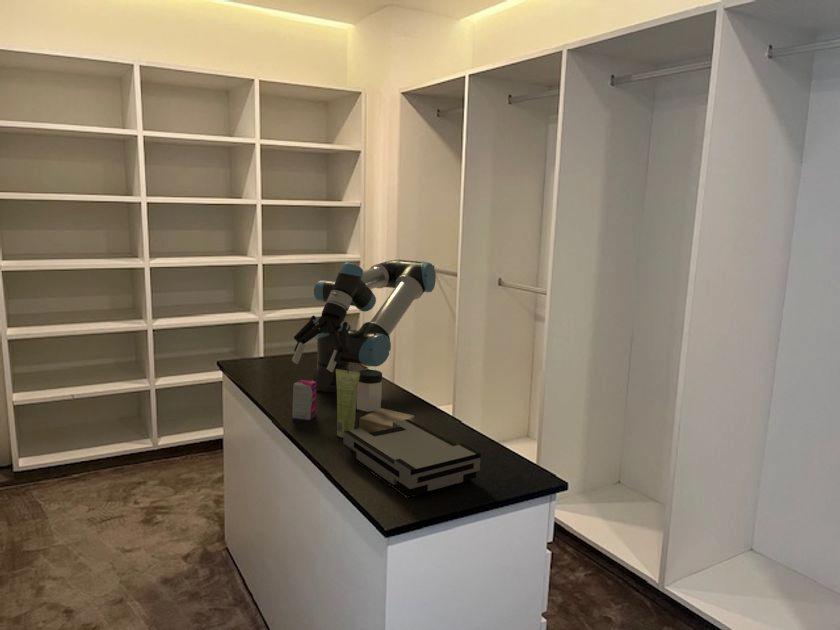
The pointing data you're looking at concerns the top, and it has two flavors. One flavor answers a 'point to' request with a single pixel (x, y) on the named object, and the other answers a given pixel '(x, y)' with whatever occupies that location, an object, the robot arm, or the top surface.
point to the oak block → (382, 420)
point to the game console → (413, 457)
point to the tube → (346, 400)
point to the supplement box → (304, 400)
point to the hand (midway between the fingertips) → (311, 366)
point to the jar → (369, 390)
